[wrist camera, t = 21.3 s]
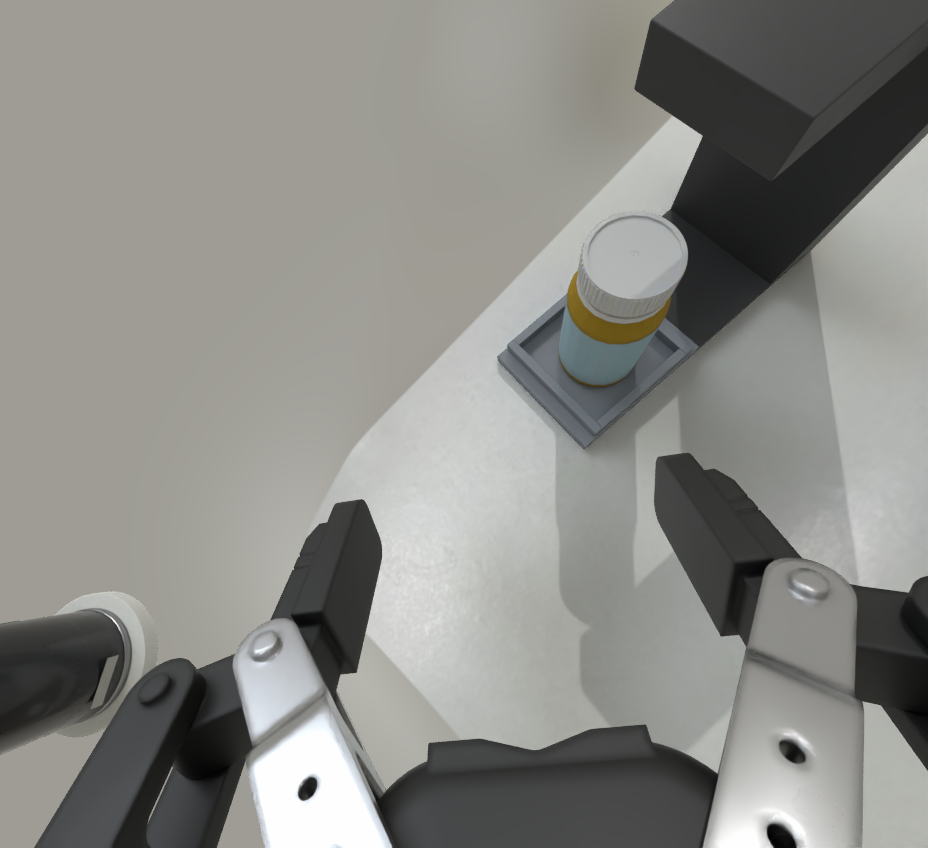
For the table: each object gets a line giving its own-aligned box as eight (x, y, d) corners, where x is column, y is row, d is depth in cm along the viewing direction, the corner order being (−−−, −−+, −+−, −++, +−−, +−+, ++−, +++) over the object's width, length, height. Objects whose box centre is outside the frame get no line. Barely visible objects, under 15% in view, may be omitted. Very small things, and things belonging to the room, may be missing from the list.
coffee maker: (583, 449, 39) (677, 309, 15) (497, 360, 42) (456, 125, 18) (811, 250, 41) (1238, -178, 16) (710, 179, 44) (938, -264, 20)
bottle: (556, 388, 40) (573, 306, 25) (558, 319, 42) (575, 206, 27) (635, 390, 39) (699, 306, 24) (634, 320, 40) (693, 202, 26)
